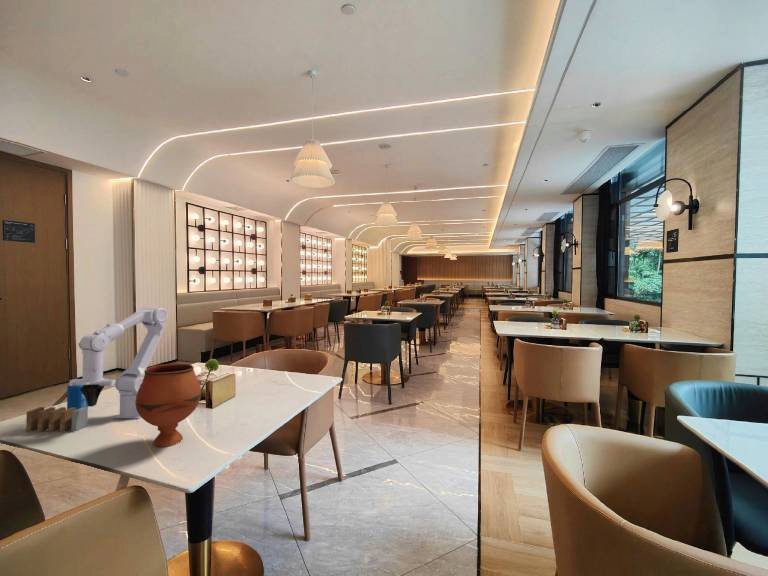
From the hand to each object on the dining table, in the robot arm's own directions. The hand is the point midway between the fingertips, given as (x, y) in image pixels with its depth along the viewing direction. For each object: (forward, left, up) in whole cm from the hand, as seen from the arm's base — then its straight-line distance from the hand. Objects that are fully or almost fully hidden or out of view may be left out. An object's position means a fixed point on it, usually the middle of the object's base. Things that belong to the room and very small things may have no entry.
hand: (92, 405), depth 129 cm
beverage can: (+18, -17, -9) cm, 27 cm away
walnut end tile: (+20, 0, -9) cm, 21 cm away
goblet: (-33, +10, -9) cm, 35 cm away
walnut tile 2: (+8, 0, -9) cm, 12 cm away
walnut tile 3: (+12, 0, -9) cm, 15 cm away
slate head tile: (+4, 0, -9) cm, 10 cm away
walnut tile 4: (+16, 0, -9) cm, 18 cm away
